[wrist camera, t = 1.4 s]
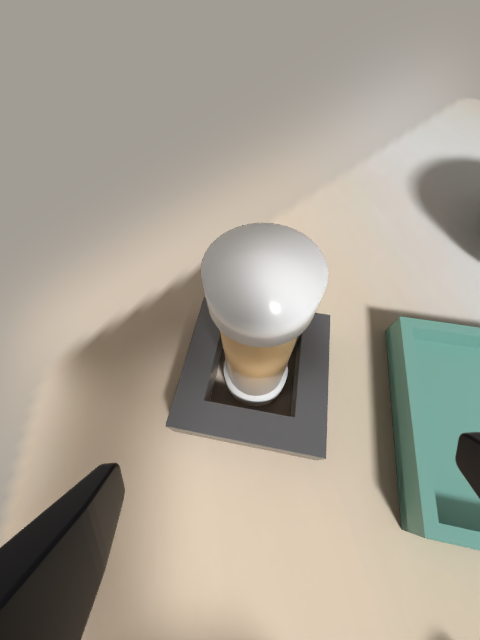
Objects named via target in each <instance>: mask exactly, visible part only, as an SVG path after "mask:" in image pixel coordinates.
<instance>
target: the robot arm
mask: <svg viewBox="0 0 480 640" xmlns="http://www.w3.org/2000/svg"><path fill="white" fill-rule="evenodd" d="M455 461H456V464H457V467H458V468H459V470H460V472H461V473H462V474H463V476H464V477H465V479H466V480H467V482H468V483H469V484H470V486H471V487H472V489H473V490H474V492H475V493H476V495H477V496H478V497H479V499H480V432H467V433H462V434H461V435H460V436H459V439H458V445H457V450H456V456H455ZM124 494H125V488H124V483H123V479H122V475H121V470H120V467H119V465H118V464H117V463H107V464H101V465H99V466H98V467H97V468H96V469H94V470H93V471H92V472H91V473H90V474H88V475H87V476H86V477H85V478H84V479H82V480H81V481H80V482H79V483H78V484H76V485H75V486H74V487H73V488H72V489H70V490H69V491H68V492H67V493H66V494H64V495H63V496H62V497H61V498H60V499H58V500H57V501H56V502H55V503H54V504H52V505H51V506H50V507H49V508H48V509H46V510H45V511H44V512H43V513H42V514H40V515H39V516H38V517H37V518H36V519H34V520H33V521H32V522H31V523H30V524H28V525H27V526H26V527H25V528H24V529H22V530H21V531H20V532H19V533H18V534H16V535H15V536H14V537H13V538H12V539H10V540H9V541H8V542H7V543H6V544H4V545H3V546H2V547H1V548H0V640H81V637H82V634H83V632H84V629H85V626H86V623H87V620H88V617H89V615H90V612H91V609H92V606H93V603H94V600H95V598H96V595H97V592H98V589H99V586H100V583H101V580H102V577H103V574H104V571H105V568H106V565H107V561H108V557H109V554H110V550H111V546H112V542H113V538H114V534H115V530H116V527H117V523H118V519H119V515H120V511H121V507H122V503H123V499H124Z"/></svg>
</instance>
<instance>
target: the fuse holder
mask: <svg viewBox="0 0 480 640" xmlns="http://www.w3.org/2000/svg"><path fill="white" fill-rule="evenodd" d="M329 338H330V315H326V314H319V313H315V314H314V317H313V319H312V321H311V323H310V324H309V326H308V327H307V329H306V330H305V331H304V332H303V333H302V334H300V335H299V336H298V337H297V340H296V343H295V345H294V347H296V348H297V349H296V360H295V370H294V381H293V392H292V403H291V414H290V416H284V415H279V414H274V413H268V412H263V411H258V410H252V409H247V408H242V407H237V406H231V405H226V404H221V403H215V402H210V399H211V395H212V391H213V387H214V382H215V378H216V374H217V370H218V365H219V361H220V357H221V353H222V348H223V344H222V339H221V334H220V330H219V328H218V327H217V326H216V325H215V323H214V322H213V320H212V318H211V316H210V313H209V309H208V305H207V301H206V297H204V300H203V303H202V306H201V310H200V313H199V316H198V319H197V323H196V326H195V329H194V333H193V336H192V339H191V343H190V346H189V349H188V353H187V356H186V359H185V363H184V366H183V369H182V373H181V376H180V379H179V383H178V386H177V389H176V393H175V396H174V399H173V403H172V406H171V409H170V413H169V416H168V419H167V422H166V427H168V428H170V429H171V430H173V431H176V432H181V433H186V434H191V435H195V436H200V437H205V438H210V439H215V440H220V441H225V442H230V443H235V444H240V445H245V446H249V447H254V448H259V449H264V450H269V451H274V452H279V453H284V454H289V455H294V456H299V457H304V458H308V459H313V460H320V459H326V438H327V405H328V371H329Z"/></svg>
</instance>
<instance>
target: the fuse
mask: <svg viewBox="0 0 480 640" xmlns="http://www.w3.org/2000/svg"><path fill="white" fill-rule="evenodd" d="M201 280H202V284H203V288H204V292H205V297H206V301H207V305H208V309H209V313H210V316H211V318H212V320H213V322H214V323H215V325H216V326H217V327H218V328H219V330H220V334H221V339H222V344H223V349H224V355H225V362H224V376H225V381H226V385H227V388H228V390H229V392H230V393H231V395H232V396H233V397H234V398H235V399H236V400H237V401H239V402H241V403H242V404H245V405H248V406H263V405H266V404H268V403H270V402H272V401H273V400H275V399H276V398H277V397H278V395H279V394H280V393H281V391H282V388H283V386H284V384H285V382H286V379H287V374H288V367H287V364H288V361H289V359H290V356H291V353H292V351H293V348H294V345H295V343H296V340H297V337H298V336H299V335H300V334H302V333H303V332H304V331H305V330H306V329H307V327H308V326H309V324H310V323H311V321H312V319H313V317H314V314H315V312H316V310H317V307H318V305H319V303H320V300H321V298H322V296H323V293H324V291H325V289H326V286H327V282H328V266H327V262H326V259H325V257H324V255H323V253H322V251H321V250H320V249H319V247H318V246H317V245H316V244H315V243H314V242H313V241H312V240H311V239H310V238H308V237H307V236H306V235H304V234H303V233H301V232H299V231H297V230H295V229H293V228H290V227H287V226H283V225H279V224H273V223H254V224H247V225H242V226H239V227H236V228H234V229H232V230H229V231H227V232H226V233H224V234H222V235H221V236H220V237H218V238H217V239H216V240H215V241H214V242H213V243H212V244H211V245H210V247H209V248H208V249H207V251H206V253H205V255H204V257H203V259H202V264H201Z"/></svg>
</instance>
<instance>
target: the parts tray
mask: <svg viewBox="0 0 480 640" xmlns="http://www.w3.org/2000/svg"><path fill="white" fill-rule="evenodd" d="M385 334H386V346H387V358H388V370H389V383H390V395H391V407H392V420H393V432H394V444H395V456H396V469H397V481H398V493H399V506H400V518H401V529H402V530H405V531H408V532H410V533H413V534H416V535H418V536H421V537H424V538H427V539H431V540H436V541H440V542H445V543H449V544H454V545H458V546H462V547H467V548H471V549H476V550H480V499H479V497H478V496H477V495H476V493H475V492H474V490H473V489H472V487H471V486H470V484H469V483H468V482H467V480H466V479H465V477H464V476H463V474H462V473H461V472H460V470H459V468H458V467H457V464H456V461H455V456H456V450H457V445H458V439H459V436H460V435H461V434H462V433H467V432H480V328H479V327H472V326H465V325H458V324H451V323H444V322H437V321H430V320H423V319H416V318H408V317H401V316H400V317H399V318H398V319H397V320H396V321H395V322H394V323H393V324H392V325H391V326H390V327H389V328H388V329H387V330H386V331H385Z"/></svg>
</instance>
